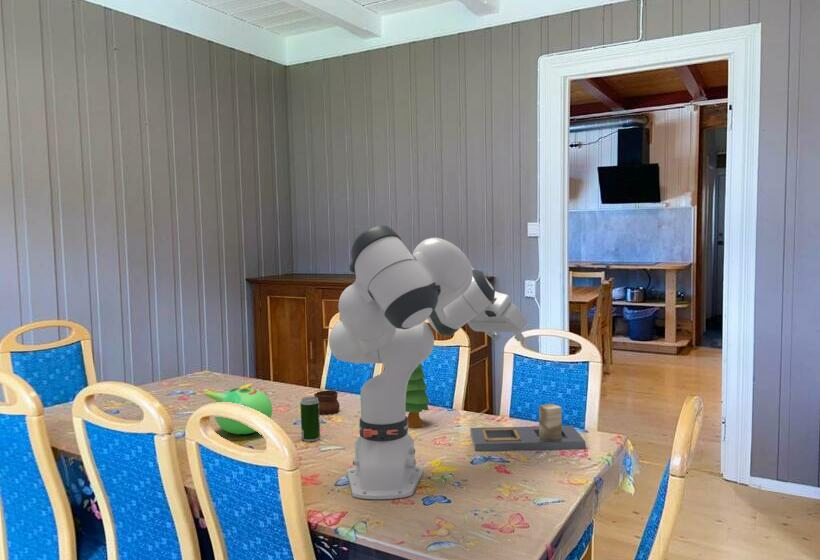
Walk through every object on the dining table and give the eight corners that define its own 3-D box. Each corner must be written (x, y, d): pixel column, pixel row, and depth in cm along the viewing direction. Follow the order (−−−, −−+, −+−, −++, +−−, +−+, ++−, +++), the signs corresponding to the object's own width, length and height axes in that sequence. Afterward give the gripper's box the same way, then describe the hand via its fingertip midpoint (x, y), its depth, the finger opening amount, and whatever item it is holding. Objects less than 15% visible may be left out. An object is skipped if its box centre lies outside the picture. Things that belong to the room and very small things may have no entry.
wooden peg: (561, 441, 177) (561, 407, 176) (549, 444, 175) (548, 409, 174) (551, 437, 181) (551, 403, 180) (539, 439, 179) (539, 405, 178)
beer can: (306, 443, 181) (304, 402, 180) (298, 438, 185) (297, 398, 184) (323, 439, 184) (321, 399, 183) (315, 434, 188) (314, 395, 187)
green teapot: (283, 429, 194) (282, 382, 193) (243, 446, 180) (241, 395, 179) (241, 421, 203) (239, 377, 202) (200, 436, 189) (198, 388, 188)
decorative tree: (395, 422, 198) (393, 328, 196) (422, 418, 203) (419, 326, 201) (409, 431, 190) (407, 332, 188) (436, 426, 194) (434, 329, 192)
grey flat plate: (585, 448, 171) (585, 440, 171) (475, 451, 171) (475, 443, 171) (572, 432, 185) (572, 425, 185) (470, 434, 185) (470, 427, 185)
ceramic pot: (343, 420, 202) (342, 399, 202) (291, 419, 206) (291, 398, 206) (359, 406, 220) (358, 386, 219) (311, 405, 224) (311, 386, 223)
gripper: (451, 313, 178) (479, 346, 183) (500, 312, 161) (529, 348, 166) (463, 297, 181) (490, 330, 185) (513, 294, 164) (541, 331, 169)
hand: (509, 339), depth 175 cm, fingers open, 8 cm apart
